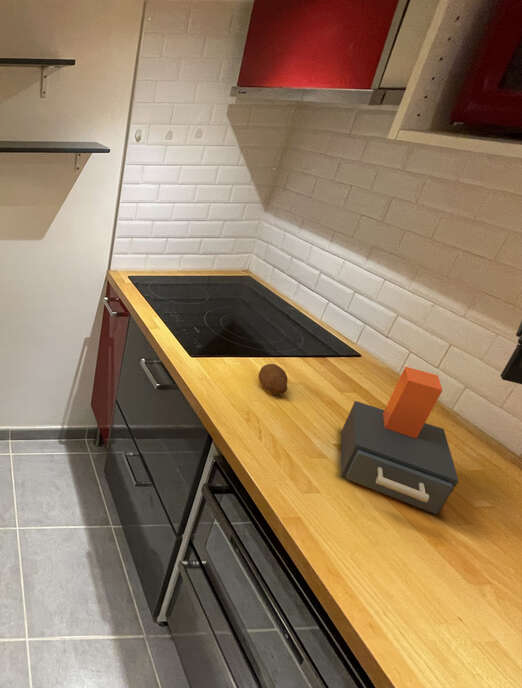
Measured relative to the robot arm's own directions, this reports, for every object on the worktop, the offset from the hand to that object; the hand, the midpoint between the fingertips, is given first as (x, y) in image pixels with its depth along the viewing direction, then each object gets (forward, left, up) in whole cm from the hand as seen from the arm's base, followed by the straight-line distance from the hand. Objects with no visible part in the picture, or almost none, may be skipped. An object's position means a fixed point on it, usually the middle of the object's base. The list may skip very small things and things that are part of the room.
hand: (512, 380), depth 80 cm
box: (+10, -1, -17) cm, 20 cm away
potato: (+33, -14, -26) cm, 44 cm away
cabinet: (+10, +3, -25) cm, 28 cm away
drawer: (+10, +7, -24) cm, 28 cm away
